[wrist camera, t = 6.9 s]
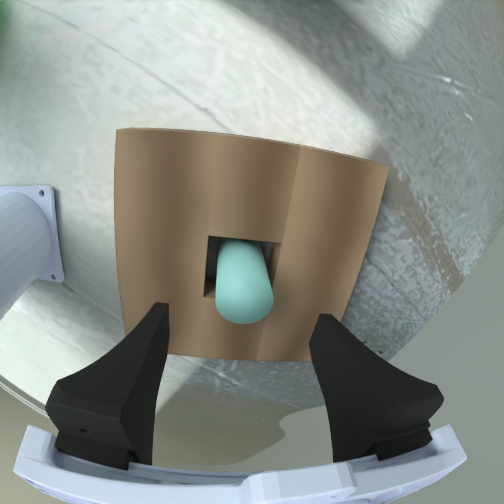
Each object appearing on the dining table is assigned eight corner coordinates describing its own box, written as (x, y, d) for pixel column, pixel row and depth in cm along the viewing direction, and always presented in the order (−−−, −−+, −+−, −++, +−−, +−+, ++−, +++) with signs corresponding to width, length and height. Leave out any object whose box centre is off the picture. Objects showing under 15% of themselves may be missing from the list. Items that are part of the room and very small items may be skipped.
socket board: (135, 328, 22) (128, 348, 20) (130, 127, 16) (116, 129, 13) (316, 341, 25) (323, 360, 22) (371, 160, 18) (389, 167, 15)
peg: (218, 269, 20) (215, 324, 15) (218, 230, 19) (214, 276, 14) (259, 269, 21) (270, 323, 15) (262, 230, 19) (276, 277, 14)
